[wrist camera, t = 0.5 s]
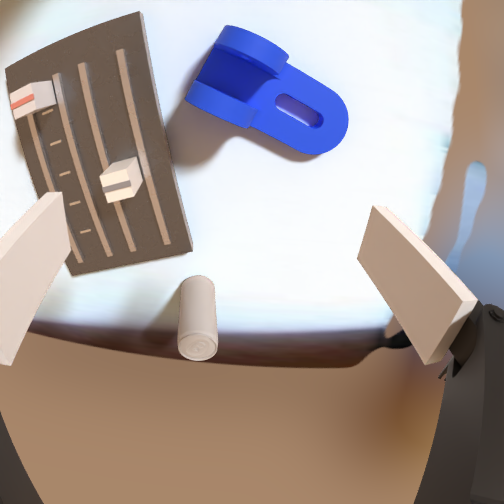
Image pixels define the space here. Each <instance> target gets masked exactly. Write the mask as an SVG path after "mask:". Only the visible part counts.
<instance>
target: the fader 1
mask: <svg viewBox="0 0 504 504" xmlns="http://www.w3.org/2000/svg"><path fill="white" fill-rule="evenodd" d="M9 95H10V100H11V110H13V114H14V118H15V120H16V119H19V118H22V117H25V116H28V115H31V114H34V113H37V112H39V111H41V110H43V109H46V108H48V107H50V106H52V105H55V104H57V103H56V99H55V94H54V90H53V85H52V80H51V81H42V82H35V83H30V84H28V85H26V86H24V87H22V88H20V89H18V90H16V91H14V92H13V93H11V94H9Z"/></svg>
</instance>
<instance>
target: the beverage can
mask: <svg viewBox="0 0 504 504" xmlns="http://www.w3.org/2000/svg"><path fill="white" fill-rule="evenodd" d="M177 342H178V349H179V352H180V353H181V354H182V355H183V356H184V357H186V358H188V359H190V360H195V361H201V360H206V359H209V358H211V357H213V356H214V355H215V353H216V351H217V347H218V332H217V319H216V305H215V287H214V284H213V282H212V281H211V280H210V279H209V278H207V277H205V276H201V275H196V276H192V277H189V278H187V279H186V280H185V281H184V282H183V283H182V286H181V297H180V310H179V324H178V339H177Z"/></svg>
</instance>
